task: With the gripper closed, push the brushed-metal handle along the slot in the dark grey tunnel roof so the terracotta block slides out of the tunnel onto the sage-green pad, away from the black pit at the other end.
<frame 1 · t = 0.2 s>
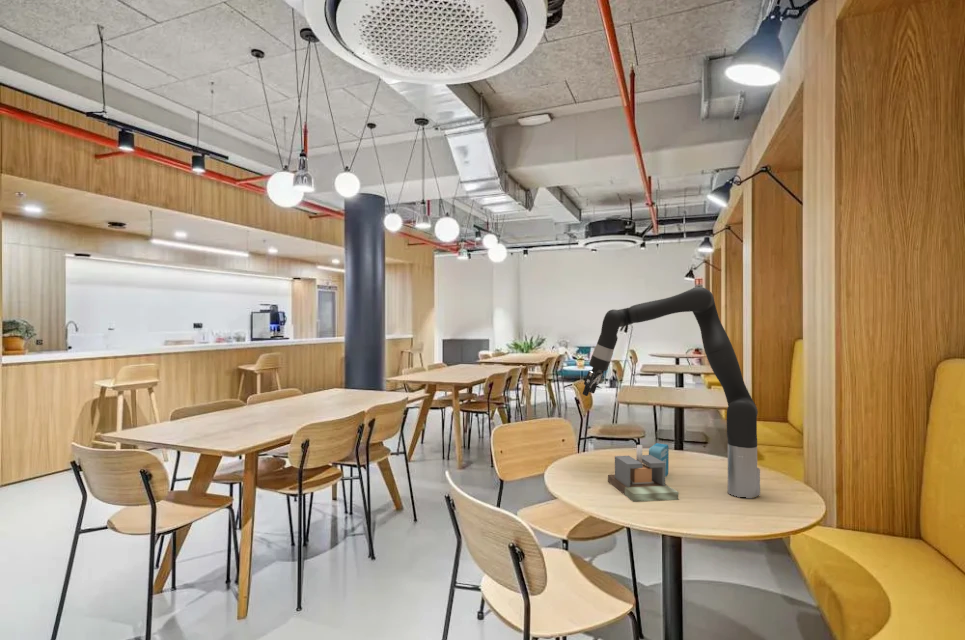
hand: (588, 393, 204), 31 cm above the table, tool tilted 20°, fingers open, 8 cm apart
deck: (641, 489, 179), on the table
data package: (658, 477, 195), on the table
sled: (639, 463, 181), point 9 cm above the table, slide at 0.0 cm
tunnel: (639, 470, 181), on the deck, point 6 cm above the table
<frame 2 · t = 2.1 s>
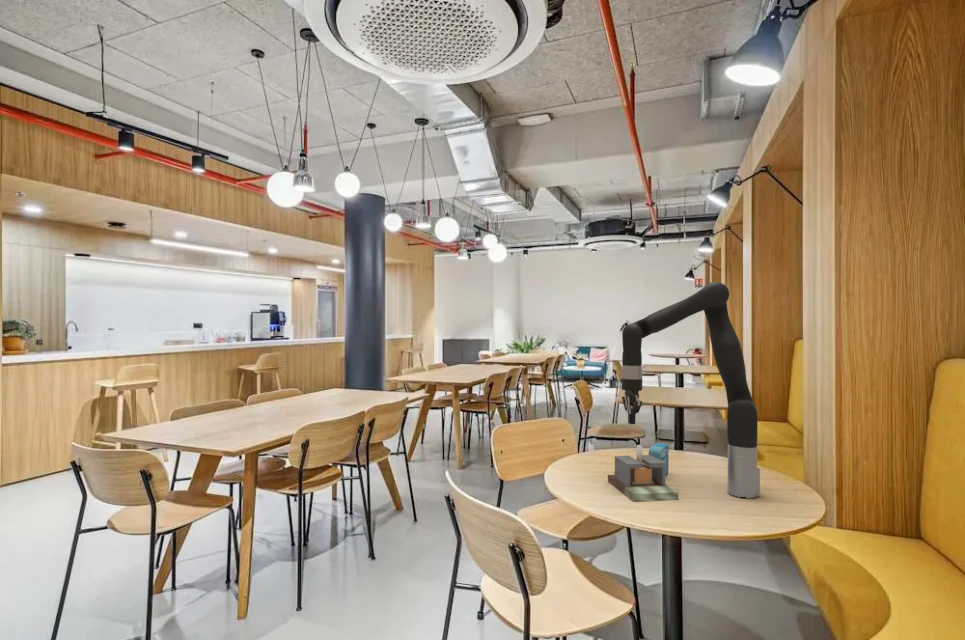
hand: (631, 423, 187), 22 cm above the table, tool pointing down, fingers closed
nothing on the table moved.
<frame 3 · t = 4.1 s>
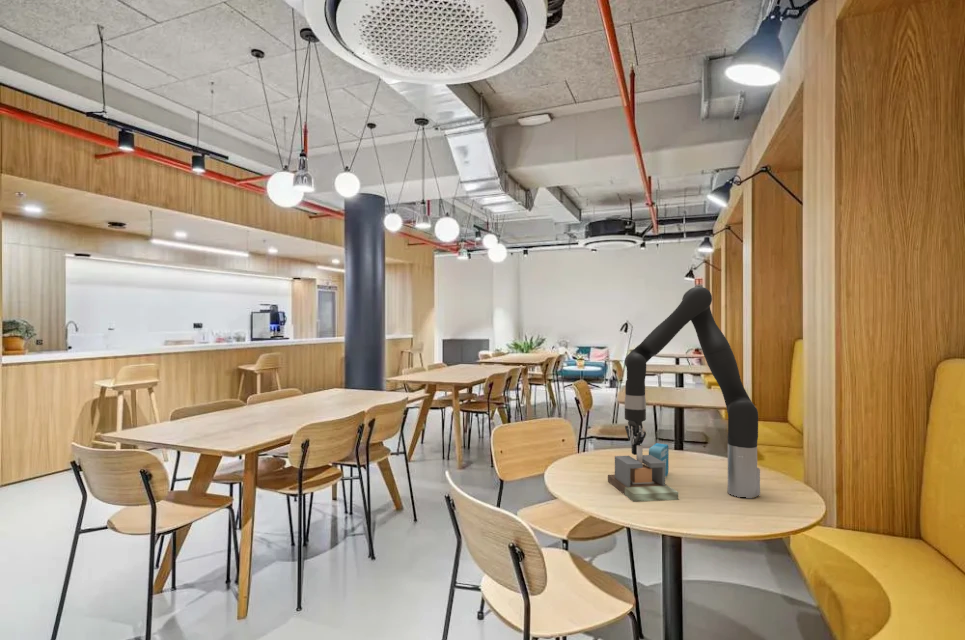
hand: (635, 454, 184), 11 cm above the table, tool pointing down, fingers closed
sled: (639, 463, 181), point 9 cm above the table, slide at 0.1 cm, touching gripper
everything else where it was.
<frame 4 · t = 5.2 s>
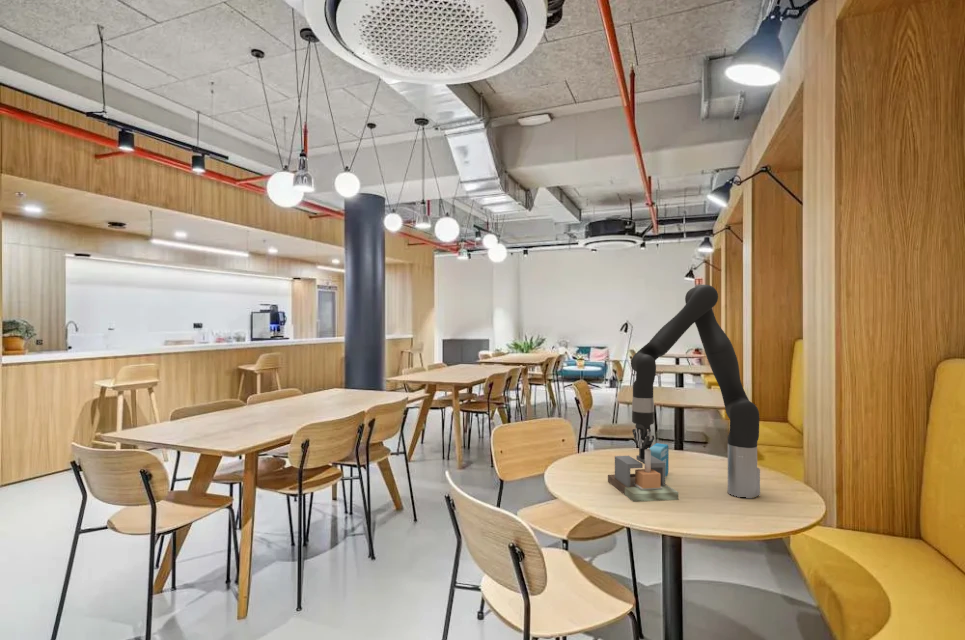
hand: (642, 458, 178), 11 cm above the table, tool pointing down, fingers closed
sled: (647, 468, 174), point 9 cm above the table, slide at 6.4 cm, touching gripper
everything else where it was.
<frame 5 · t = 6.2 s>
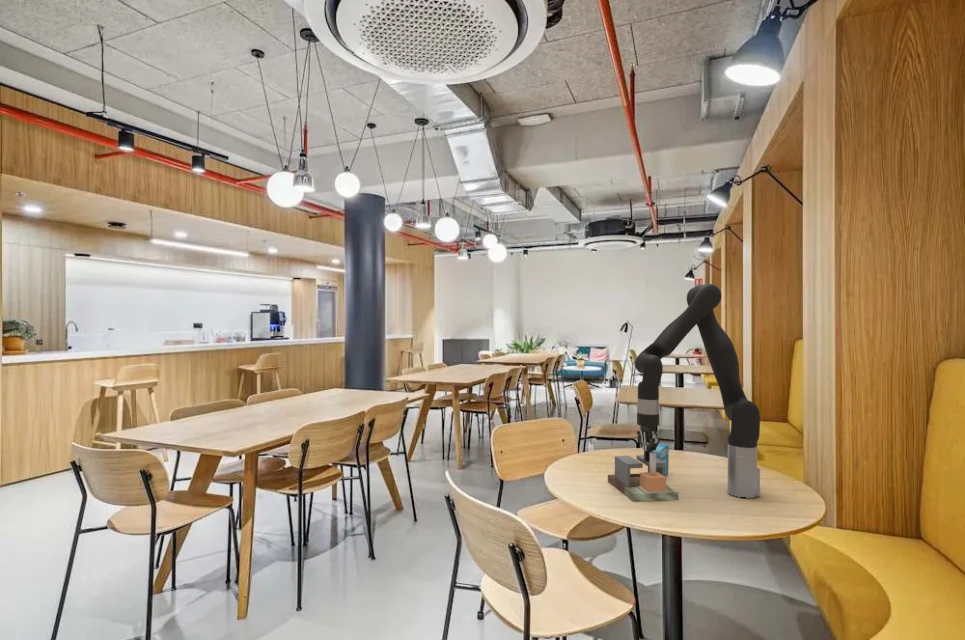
hand: (647, 461, 175), 11 cm above the table, tool pointing down, fingers closed
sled: (652, 471, 171), point 9 cm above the table, slide at 10.1 cm, touching gripper
everything else where it was.
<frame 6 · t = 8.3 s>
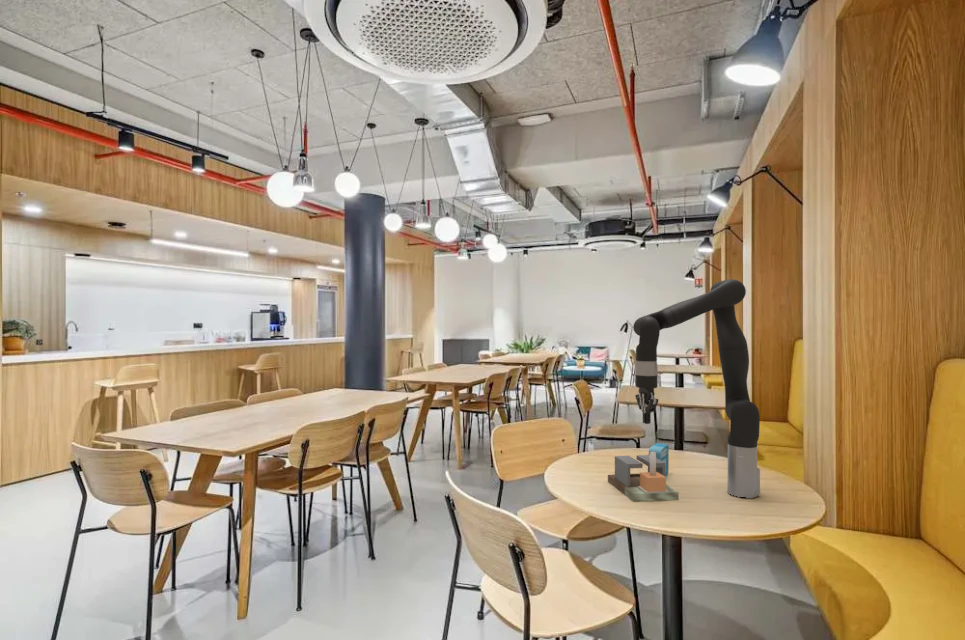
hand: (646, 423, 175), 25 cm above the table, tool pointing down, fingers closed
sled: (652, 471, 171), point 9 cm above the table, slide at 10.0 cm
everything else where it was.
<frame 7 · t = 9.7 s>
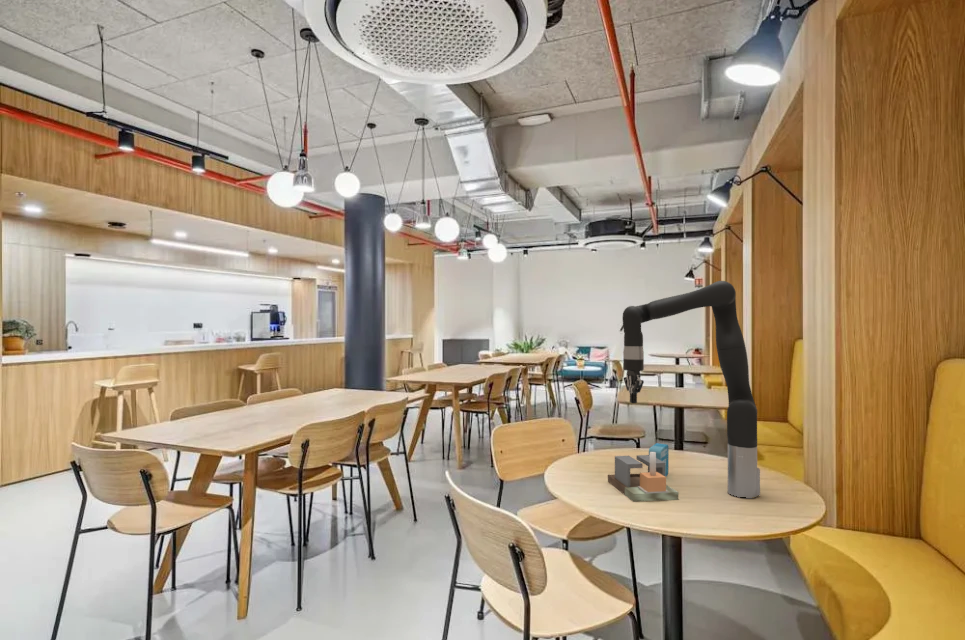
hand: (633, 403, 193), 29 cm above the table, tool pointing down, fingers closed
nothing on the table moved.
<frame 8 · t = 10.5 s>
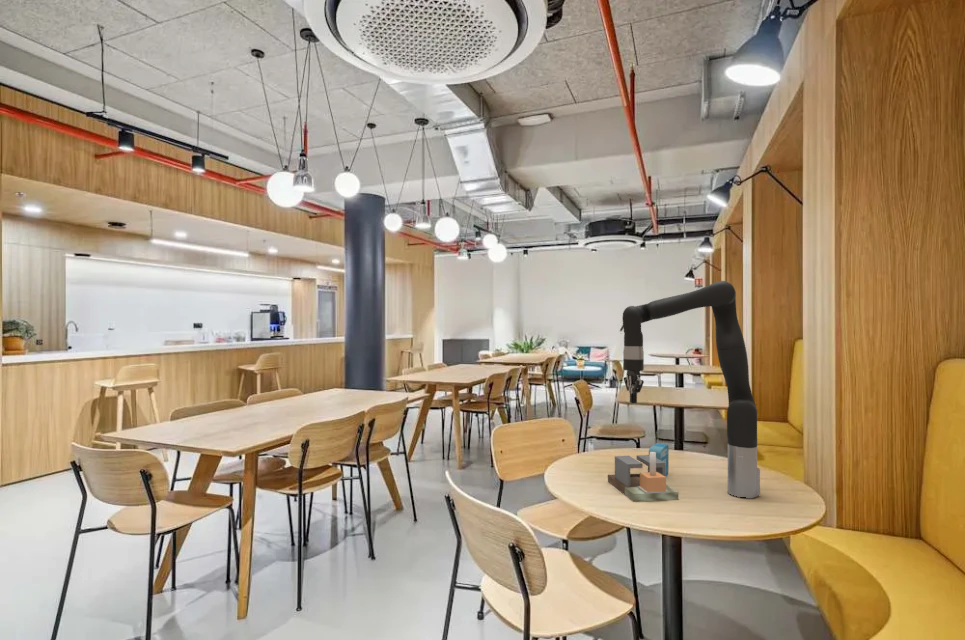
hand: (633, 403, 193), 29 cm above the table, tool pointing down, fingers closed
nothing on the table moved.
at the end: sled slide at 10.0 cm; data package moved 0.3 cm from its start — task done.
